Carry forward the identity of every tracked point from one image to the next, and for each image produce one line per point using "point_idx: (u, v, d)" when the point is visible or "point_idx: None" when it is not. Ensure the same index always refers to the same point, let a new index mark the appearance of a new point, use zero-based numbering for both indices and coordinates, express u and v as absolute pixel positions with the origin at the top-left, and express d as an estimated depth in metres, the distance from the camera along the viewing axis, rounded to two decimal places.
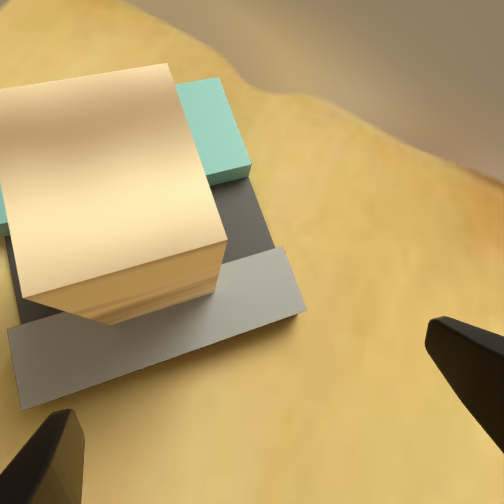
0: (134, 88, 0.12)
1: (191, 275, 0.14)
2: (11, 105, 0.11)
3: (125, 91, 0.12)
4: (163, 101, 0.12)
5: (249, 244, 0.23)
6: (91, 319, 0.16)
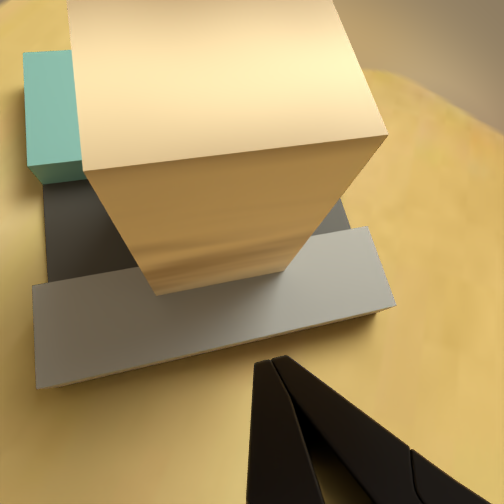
0: None
1: (290, 217, 0.10)
2: None
3: None
4: None
5: (322, 224, 0.20)
6: (143, 273, 0.12)
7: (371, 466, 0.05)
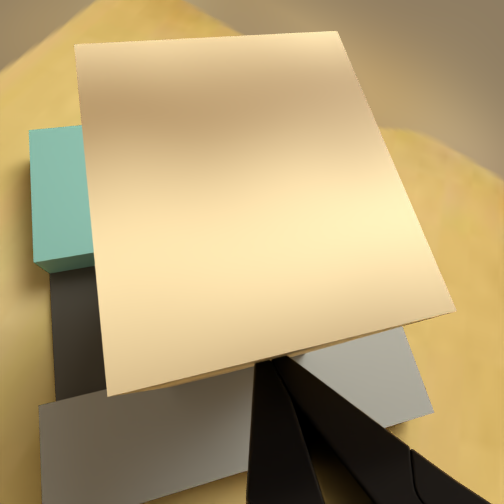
0: (292, 60, 0.08)
1: (326, 345, 0.09)
2: (114, 67, 0.07)
3: (280, 63, 0.08)
4: (335, 82, 0.08)
5: None
6: (160, 388, 0.11)
7: (371, 466, 0.05)
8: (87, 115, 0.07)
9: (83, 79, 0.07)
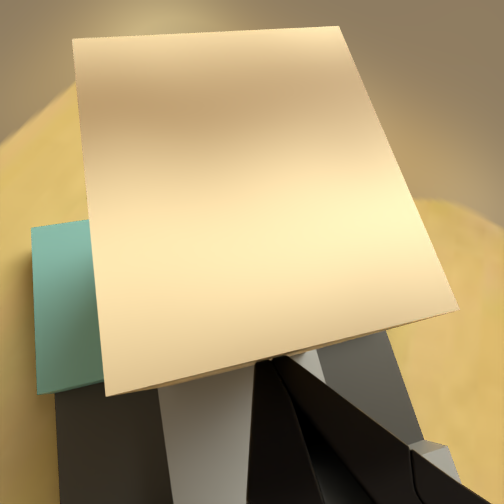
0: (293, 55, 0.08)
1: None
2: (113, 61, 0.07)
3: (281, 58, 0.08)
4: (337, 77, 0.08)
5: (386, 422, 0.16)
6: None
7: (371, 466, 0.05)
8: (85, 111, 0.07)
9: (81, 74, 0.07)
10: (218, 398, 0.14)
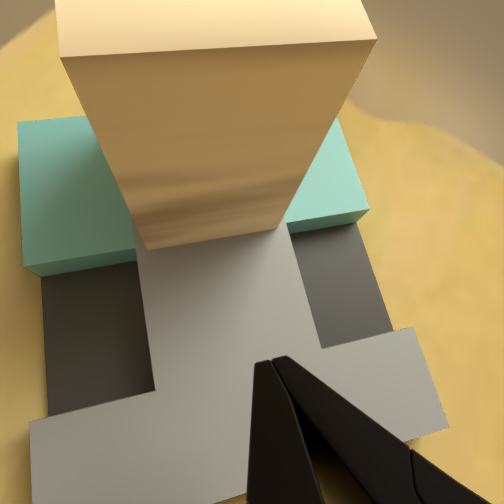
0: None
1: (280, 151, 0.10)
2: None
3: None
4: None
5: (357, 314, 0.17)
6: (132, 216, 0.12)
7: (371, 466, 0.05)
8: None
9: None
10: (196, 277, 0.15)
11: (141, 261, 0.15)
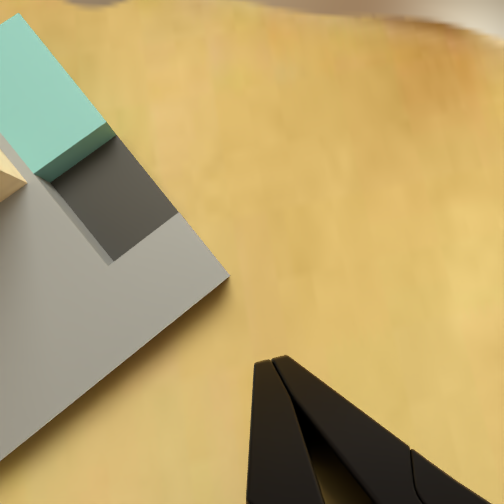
0: None
1: None
2: None
3: None
4: None
5: (147, 218, 0.19)
6: None
7: (371, 466, 0.05)
8: None
9: None
10: None
11: None
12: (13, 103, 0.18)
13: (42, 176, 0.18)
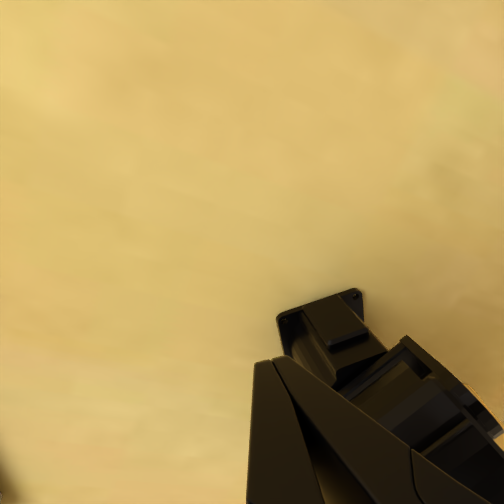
0: None
1: None
2: None
3: None
4: None
5: None
6: None
7: (371, 466, 0.05)
8: None
9: None
10: None
11: None
12: None
13: None
